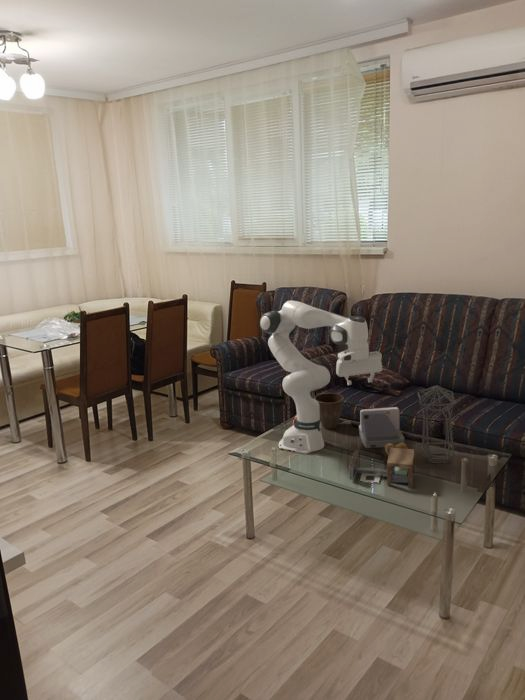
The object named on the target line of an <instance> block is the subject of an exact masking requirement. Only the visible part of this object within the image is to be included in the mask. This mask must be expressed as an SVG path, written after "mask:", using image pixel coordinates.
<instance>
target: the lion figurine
mask: <svg viewBox="0 0 525 700" xmlns="http://www.w3.org/2000/svg"><path fill="white" fill-rule="evenodd" d="M390 448H402V449H408V445H407V444H406V443H405V442H404V443H399V444H397V445H394V444H391V443H388V444H386V446H385V447H384V450H385V454H386V455H388V456H389V452H390Z"/></svg>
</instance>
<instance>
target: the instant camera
mask: <svg viewBox="0 0 525 700" xmlns="http://www.w3.org/2000/svg"><path fill="white" fill-rule="evenodd" d="M359 416H360V417H359V420H360V421H359V423H360V424H359V425H358V432H359V434H358V435H359V437H360V440H361V441H362V443H363V446H364V447H365V448H366V449H373V448H374V449H375V448H385V446H386V444H388V443H391V444H394V445H397V444H399V443H405V436H404V435H403V433H402V431H401V429H400V409H399V408H398V406H394V407H380V408H379V407H378V408H365V409H363V408H362V409H360V412H359Z"/></svg>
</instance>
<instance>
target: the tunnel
mask: <svg viewBox="0 0 525 700" xmlns="http://www.w3.org/2000/svg"><path fill="white" fill-rule="evenodd" d="M387 457H388V458H387V462H386V470H387V475H386V486H387V485H389V486H388V487H392V482H391V469H392V467H403V468H408V483H407V485H408V489H412V488H413V474H415V449H414V448H413V449H412V448H407V449H402V448H390V452H389V455H388V456H387Z"/></svg>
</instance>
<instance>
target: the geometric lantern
mask: <svg viewBox="0 0 525 700" xmlns="http://www.w3.org/2000/svg"><path fill="white" fill-rule="evenodd" d="M450 393H451V394H450ZM416 394H417V396H418V403H419V406H420V408H421V409H420V410H421V412H422V432H421V433H422V436H421V437H422V438H421V439H422V441H421V449H422V455H423V456H425V457H426V458H428V461H429V463H432V464H437V463H438V464H442V463H443V464H449V462H450V458H451V457H453V456H454V455H455V452H454V451H455V449H454V439H453V428H452V425H453V424H452V413H453V408H454V407H455V405H456V404H458V401H456V400H455V397H454V392H453V391H452V390H449V389H446V388H444V387H442V386H439V385H437V384H436V385H433V386H430V387H429V388H426V389H423V390H421V391H420V392H419V391H418V392H417V393H416ZM420 394H421V395H420ZM431 396H432V397H431ZM436 396H437V398H436ZM444 397H445V398H446V399H447V400H448V401H450V403H443V401H442V398H444ZM428 399H431V400H430V402H429V403H426V402H427V401H428ZM435 401H438V403H439V404H435ZM423 402H424V403H423ZM430 406H432V408H431V407H430ZM436 406H437V407H438V406H439V408H435V407H436ZM442 406H443V408H441V407H442ZM429 411H432V412H431V413H430V415H429ZM444 411H445V412H444ZM434 412H441V413H442V414H443V416H444V417H445V418H430V417H431V416H432V415H433V413H434ZM425 413H426V414H425ZM429 420H432V421H433V420H437V421H438V420H440V421H441V420H442V421H443V420H445V442H429ZM425 445H426V447H425ZM430 445H444V448H443V449H436V450H435V449H434V450H433V449H432V450H431V449H430V448H429V447H430ZM446 446H447V447H448V448H446ZM425 451H426V454H425ZM440 451H442V454H445V455H434V454H435V453H430V452H440ZM447 451H448V453H447ZM451 452H452V453H451ZM446 455H447V456H446ZM433 460H446V461H433Z"/></svg>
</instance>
